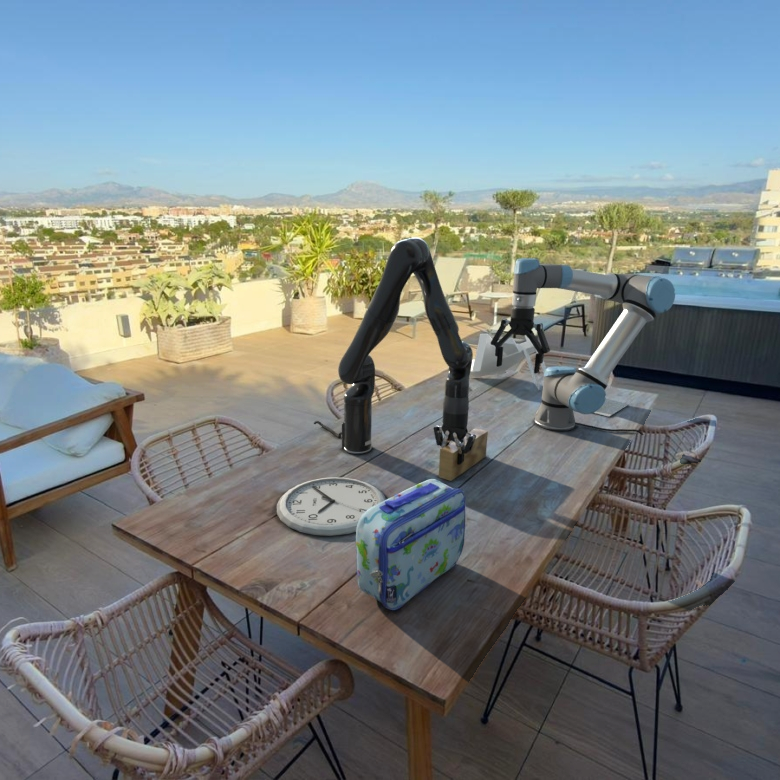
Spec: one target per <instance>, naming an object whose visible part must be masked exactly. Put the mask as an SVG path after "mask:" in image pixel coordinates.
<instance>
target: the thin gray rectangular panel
mask: <svg viewBox="0 0 780 780" xmlns="http://www.w3.org/2000/svg"><path fill="white" fill-rule="evenodd" d="M628 406H629V404H627V403H623V402H618V401H614V400H609V399H607V398H606V399H605V402H604V404H603V406H602V407H601V408H600V409H599V410H597V411H596V412H594V413H593V414H596V415H600V416H604V417H608V418H609V417H611V416H613V415H614V414H616V413H617V412H619V411H621V410H623V409H624V408H626V407H628Z"/></svg>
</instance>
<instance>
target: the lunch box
mask: <svg viewBox="0 0 780 780" xmlns="http://www.w3.org/2000/svg"><path fill="white" fill-rule="evenodd" d="M465 532H466V495H465V492H464V491H463V490H462V489H461V488H453V487H451V486H449V485H447V484H445V483H443V482H442V481H440V480H437V479H435V478H430V479H426V480H424V481H422V482H420V483H417V484H415V485H413V486H411V487H409V488H407V489H405V490H403V491H401V492H399V493H397V494H395V495H393V496H391V497H389V498H386V500H385V501H383V502H381V503H379V504H377V505H375V506H373V507H371V508H369V509H368V510H366V511H365V512H364V513H363V515H362V516H361V518H360V520H359V522H358V525H357V529H356V532H355V551H356V579H357V580H356V581H357V585H358V588H359V590H360V591H361V592H363V593H365V594H366V595H369V596H371V597H372V598H374V599H375V600H376V601H378V602H380V603H381V604H382V606H383V607H384V608H386V609H388V610H391V611H397V610H399V609H401V608H402V607H403V606H405V604H406V603H407V602H409V601H410V600H412V598H414V597H415V596H417V594H419V593H421V592H422V591H423V590H425V588H426V587H428V586H430V585H431V584H432V583H433V582H434V581H435V580H436V579H438V578H439V577H440V576H442V575H444V574H446V572H448V571H450V570H451V569H452V568H453V567H454V566H455V565H456V564H457V563H458V561H459V559H460V558H461V555H462V552H463V549H464V546H465V545H464V544H465V536H466V535H465V534H466V533H465Z"/></svg>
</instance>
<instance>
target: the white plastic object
mask: <svg viewBox="0 0 780 780" xmlns="http://www.w3.org/2000/svg"><path fill="white" fill-rule="evenodd" d="M524 338H525V341H524V342H521V343H516V340H515V339H514V337H509V338H508V339H507V340H506V341H505V342H504V343H503V344H502V346H501V347H503V356H502V365H501V366H499V367H497V366H496V365H497V356H495V346H494V345H491V341H492V339H493V337H491V335H490V334H489V333H480V334H479V337H478V342H477V347H476V352H475V357H474V358H473V359H472V366H471V372H470V376H469V378H477V377H485V376H495V375H496V376H497V377H498V376H501V375H504V374H507V370H509V369H511V368H512V367H513V366H515V365H516V364H517V363H519V362H521V361H522V360H523V359H524V358H525V360H526V363H527V366H528V370H529V372H530V375H531V379H532V382H533V384H534V386H535V387H536V389H538V391H540V390H541V386H540V383H539V379H538V376H537V373H534V367H535V366H534V364H533V361H532V358H531V354H533V353H536V354H537V353H538V352H537V350H536V349H535V347H534V346H533V344H532V343H531V341H530V339H529V338H528V337H527V336H526V335H524ZM500 340H501V339H499V340H498V341H497V342H499V341H500ZM540 368H541V370H542V373H543V374H544V373H545V370H546V369H547V368H548V367H547V366H546V362H545V360H544V358H543V363H541V364H540Z"/></svg>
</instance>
